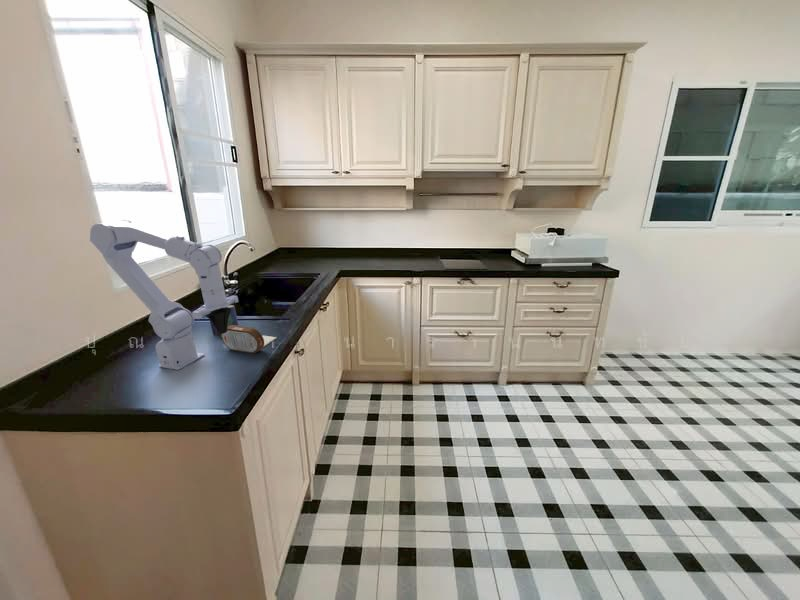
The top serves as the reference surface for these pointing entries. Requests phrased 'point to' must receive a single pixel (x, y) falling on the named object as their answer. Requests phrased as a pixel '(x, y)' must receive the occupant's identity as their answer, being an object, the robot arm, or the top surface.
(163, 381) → the top surface
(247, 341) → the tin
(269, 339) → the mat
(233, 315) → the flask
